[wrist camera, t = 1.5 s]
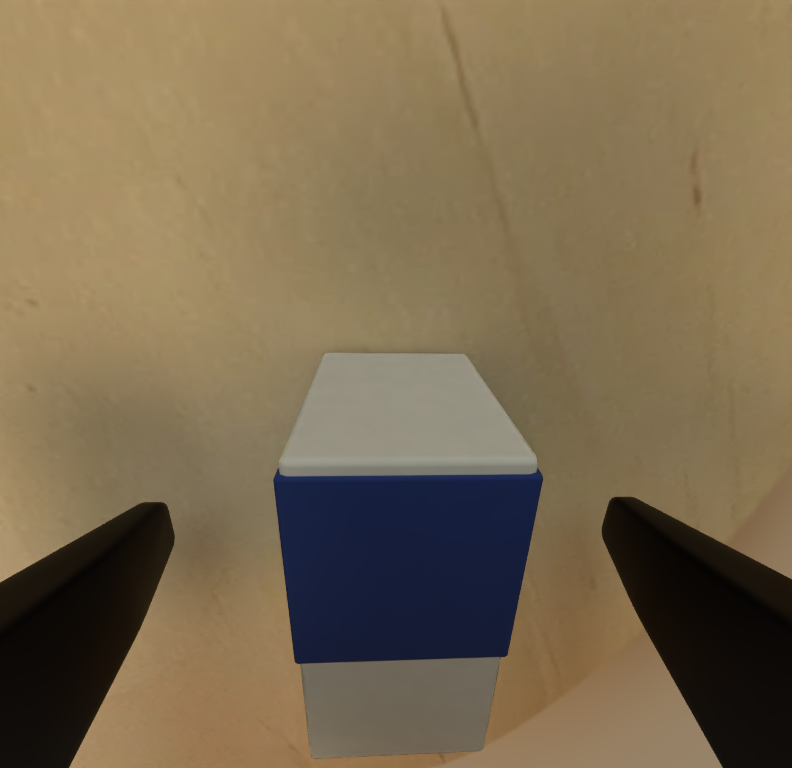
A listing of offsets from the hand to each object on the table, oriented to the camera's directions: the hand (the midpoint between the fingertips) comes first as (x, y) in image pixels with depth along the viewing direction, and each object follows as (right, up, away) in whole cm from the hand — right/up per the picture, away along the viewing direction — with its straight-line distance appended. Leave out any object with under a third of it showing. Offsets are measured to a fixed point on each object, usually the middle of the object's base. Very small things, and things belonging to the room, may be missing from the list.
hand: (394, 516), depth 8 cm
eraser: (0, +1, +1) cm, 1 cm away
